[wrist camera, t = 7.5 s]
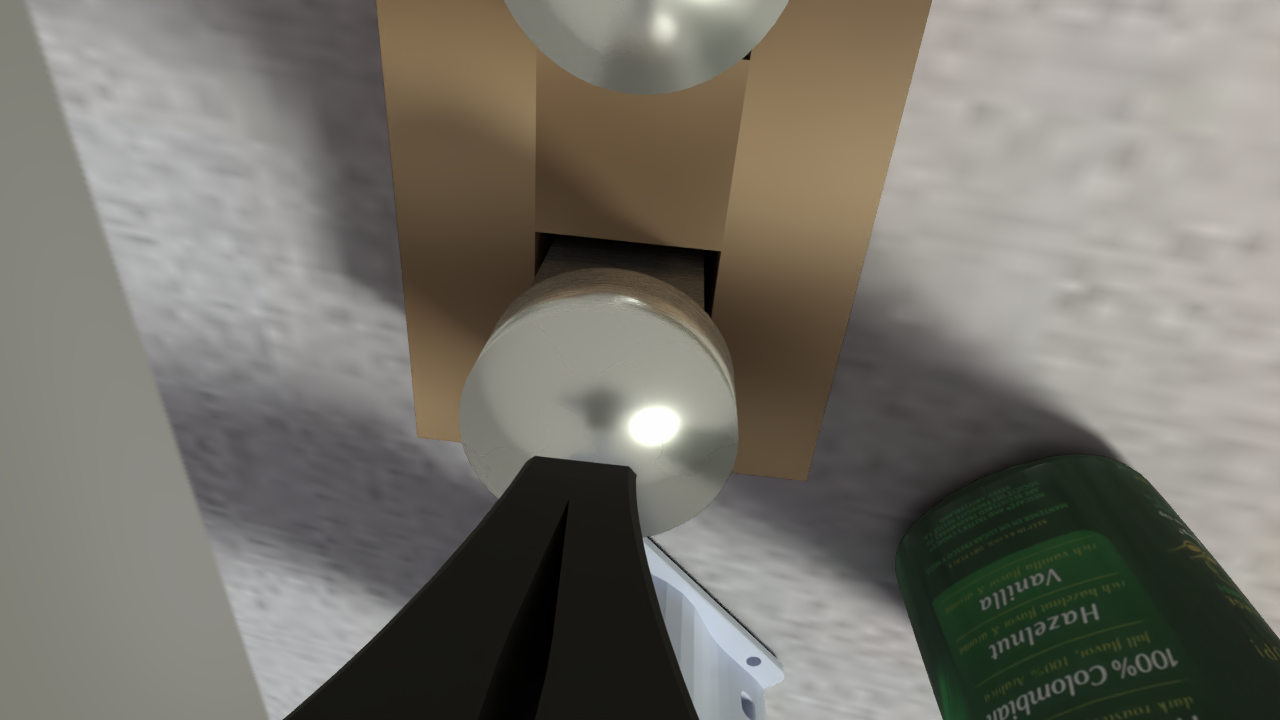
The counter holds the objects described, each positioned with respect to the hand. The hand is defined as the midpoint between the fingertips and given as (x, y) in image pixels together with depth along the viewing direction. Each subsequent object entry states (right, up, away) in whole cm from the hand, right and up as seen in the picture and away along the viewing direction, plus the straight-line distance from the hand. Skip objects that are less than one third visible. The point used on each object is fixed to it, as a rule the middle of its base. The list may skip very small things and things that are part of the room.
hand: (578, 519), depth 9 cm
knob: (+1, +4, +7) cm, 8 cm away
